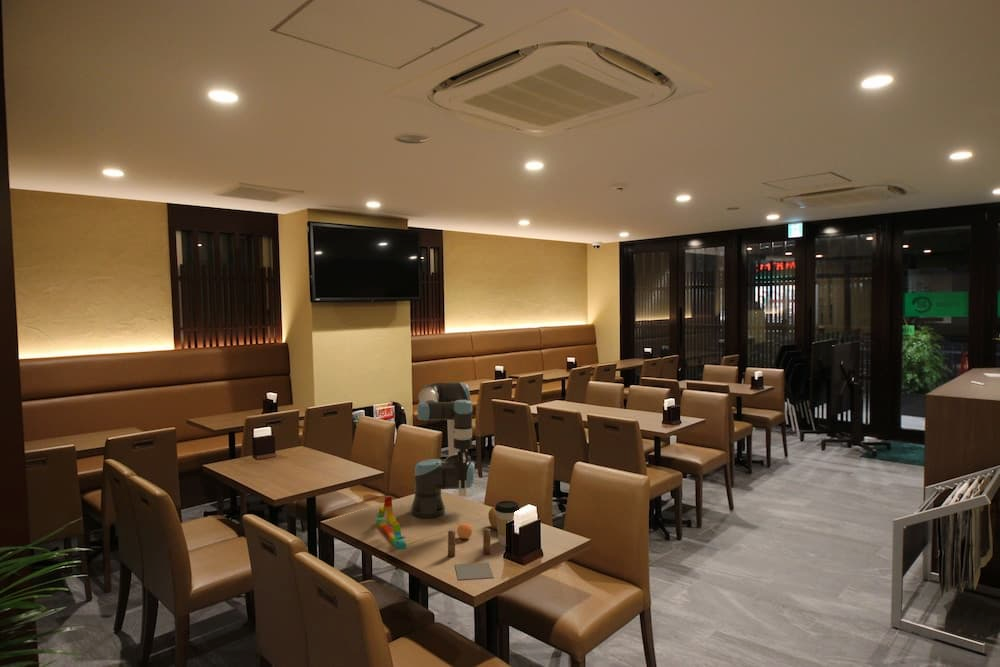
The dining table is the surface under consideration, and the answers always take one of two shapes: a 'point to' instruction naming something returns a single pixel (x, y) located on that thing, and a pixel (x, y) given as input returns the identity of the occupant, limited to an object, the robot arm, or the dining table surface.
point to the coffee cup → (504, 517)
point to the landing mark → (473, 571)
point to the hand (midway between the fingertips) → (462, 495)
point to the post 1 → (451, 543)
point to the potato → (492, 517)
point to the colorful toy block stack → (391, 533)
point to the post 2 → (486, 541)
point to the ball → (464, 530)
